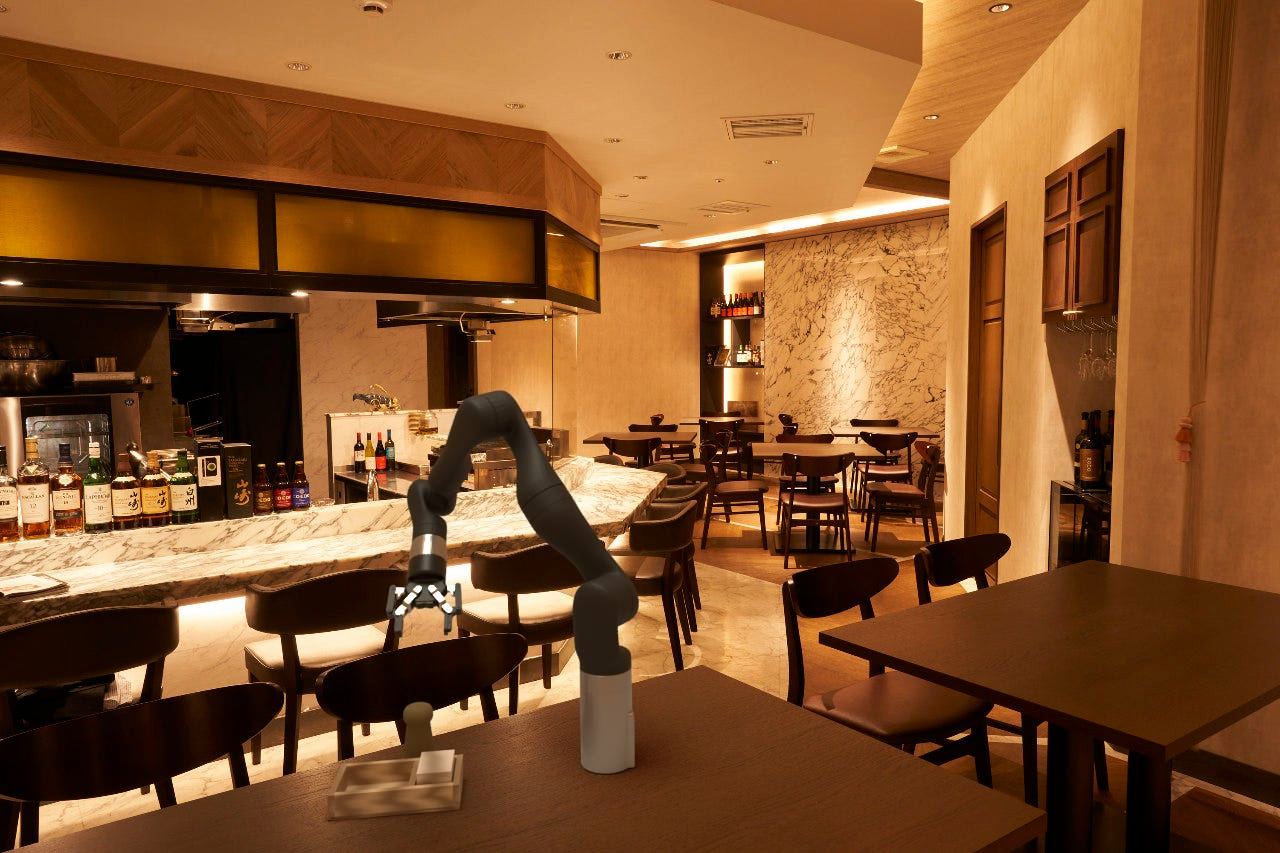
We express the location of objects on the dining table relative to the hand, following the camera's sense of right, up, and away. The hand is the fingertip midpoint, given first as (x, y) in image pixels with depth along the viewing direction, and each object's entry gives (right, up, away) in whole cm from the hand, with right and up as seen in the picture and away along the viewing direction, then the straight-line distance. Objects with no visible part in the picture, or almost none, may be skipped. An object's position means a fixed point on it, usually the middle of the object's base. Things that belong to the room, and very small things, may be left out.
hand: (423, 634), depth 156 cm
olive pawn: (+2, -21, -10) cm, 23 cm away
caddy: (+2, -21, -22) cm, 31 cm away
